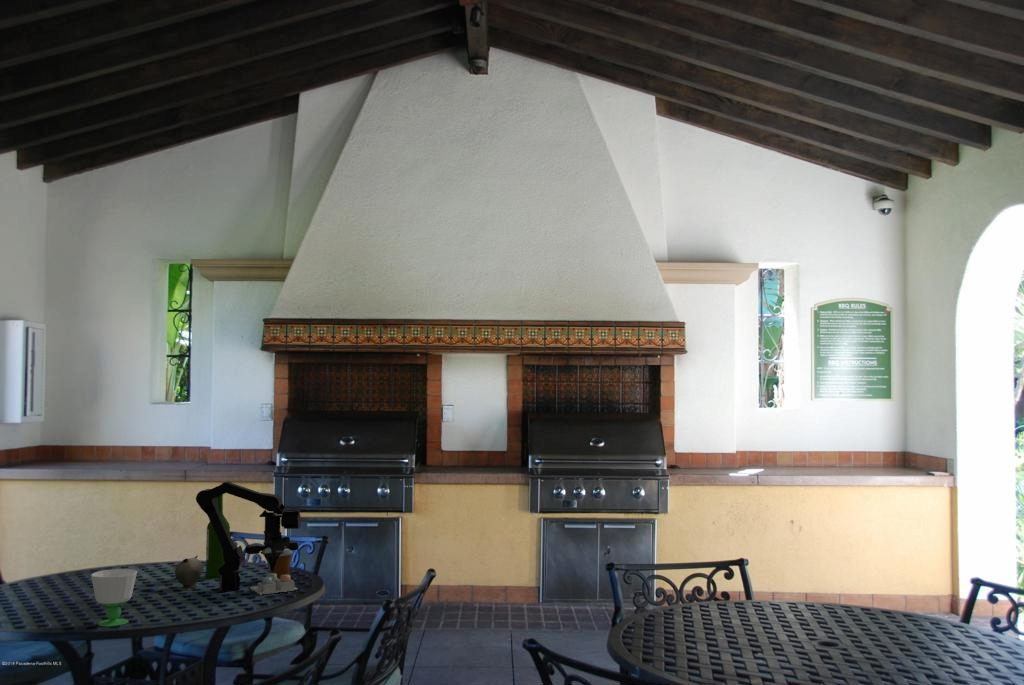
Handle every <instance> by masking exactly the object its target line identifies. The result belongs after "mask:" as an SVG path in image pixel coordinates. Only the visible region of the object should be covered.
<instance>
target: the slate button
mask: <svg viewBox="0 0 1024 685" xmlns="http://www.w3.org/2000/svg"><path fill="white" fill-rule="evenodd" d="M261 582H262V584H263V585H265V584H272V577H267V576H262V577H261Z"/></svg>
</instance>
